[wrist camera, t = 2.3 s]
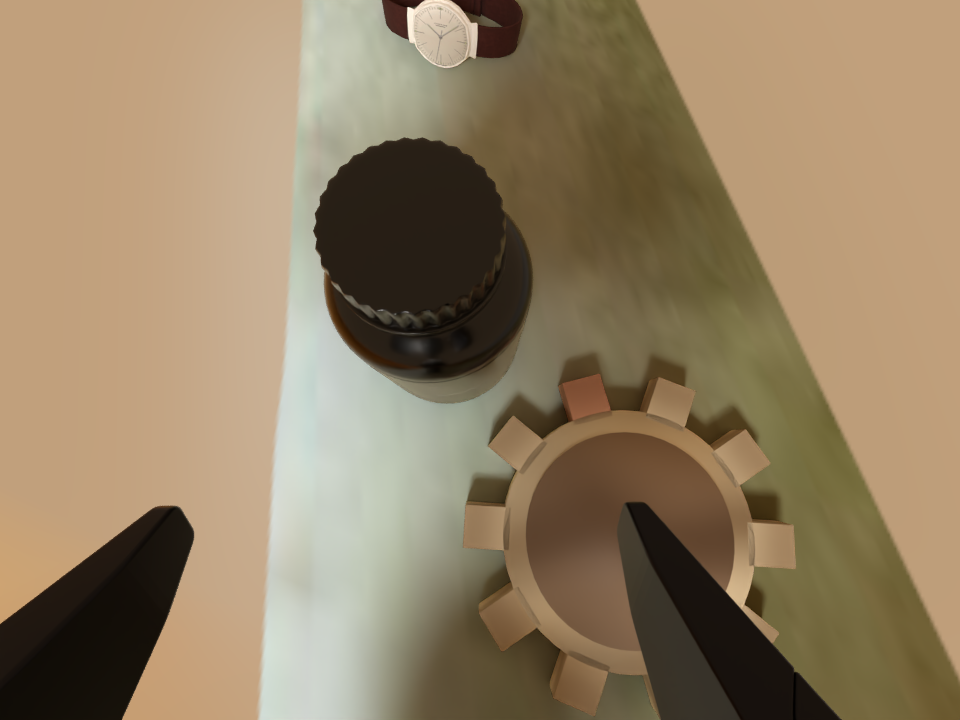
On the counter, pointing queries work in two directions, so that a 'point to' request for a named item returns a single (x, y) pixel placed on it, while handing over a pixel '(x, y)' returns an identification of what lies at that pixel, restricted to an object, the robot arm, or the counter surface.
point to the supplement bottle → (424, 268)
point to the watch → (455, 28)
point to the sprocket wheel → (614, 526)
